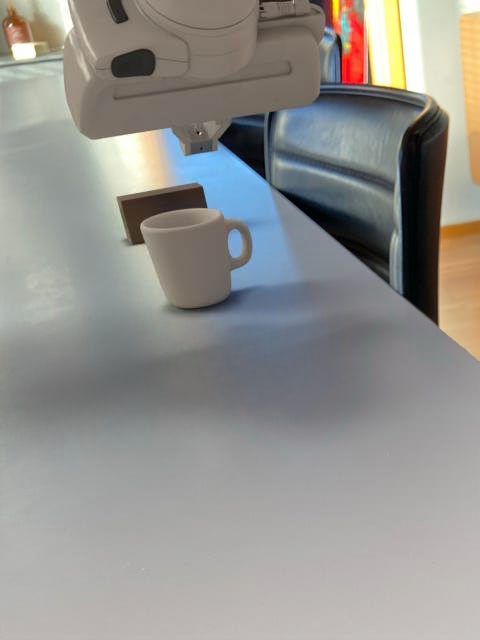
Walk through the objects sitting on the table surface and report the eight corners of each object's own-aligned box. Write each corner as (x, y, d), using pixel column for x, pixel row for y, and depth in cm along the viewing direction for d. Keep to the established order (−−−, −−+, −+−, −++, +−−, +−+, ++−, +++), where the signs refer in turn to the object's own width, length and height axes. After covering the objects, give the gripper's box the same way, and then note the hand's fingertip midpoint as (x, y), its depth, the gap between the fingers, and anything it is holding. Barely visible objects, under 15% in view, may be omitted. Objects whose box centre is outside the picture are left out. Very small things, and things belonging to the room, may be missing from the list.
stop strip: (132, 244, 123) (120, 201, 121) (127, 239, 126) (115, 196, 123) (212, 228, 127) (203, 186, 124) (206, 224, 129) (196, 182, 126)
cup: (240, 277, 109) (223, 197, 104) (279, 291, 103) (263, 208, 99) (147, 304, 103) (125, 221, 99) (183, 320, 98) (161, 234, 93)
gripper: (313, -35, 79) (297, 100, 92) (44, -6, 72) (67, 135, 85) (343, 30, 78) (323, 157, 91) (73, 66, 72) (93, 198, 84)
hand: (198, 147), depth 88 cm, fingers closed
